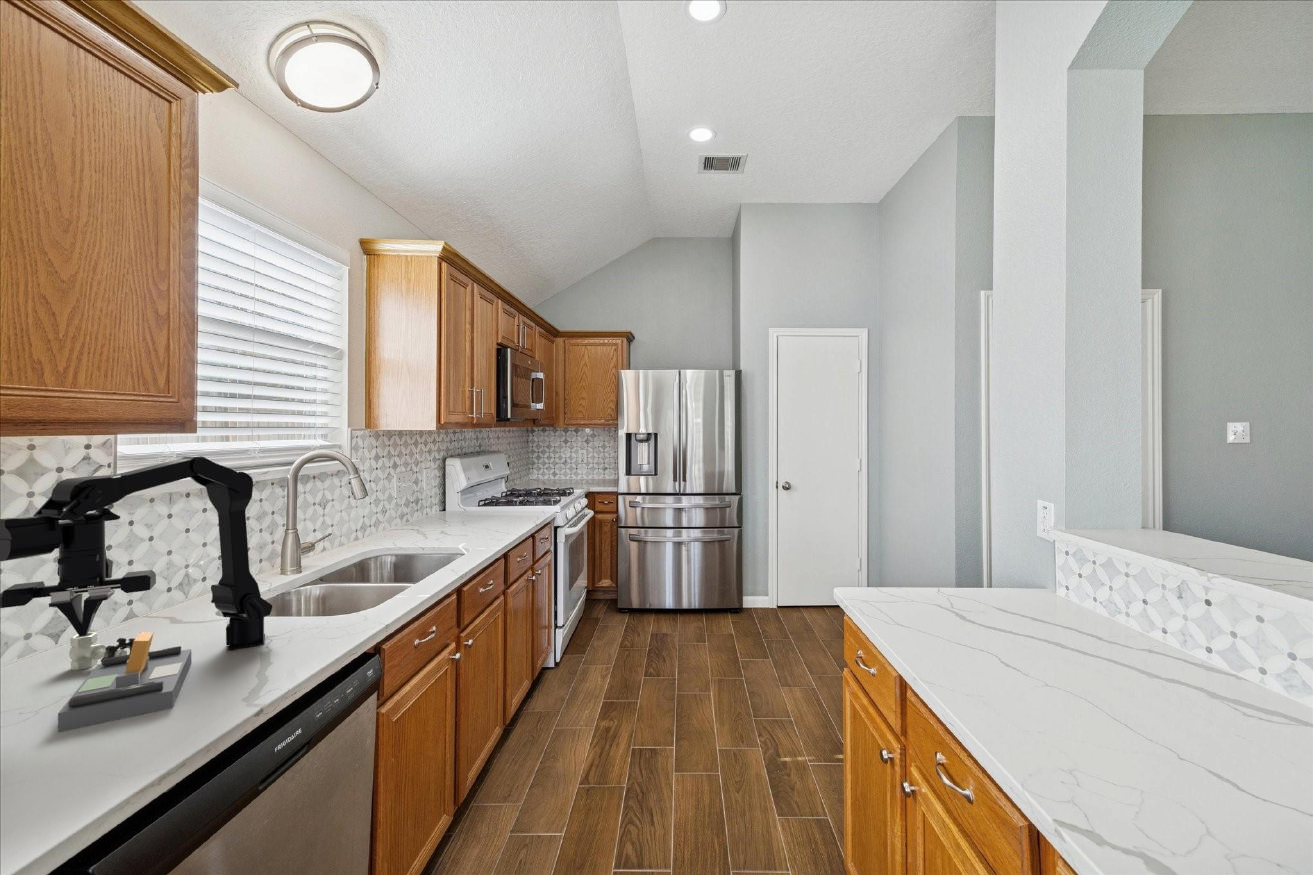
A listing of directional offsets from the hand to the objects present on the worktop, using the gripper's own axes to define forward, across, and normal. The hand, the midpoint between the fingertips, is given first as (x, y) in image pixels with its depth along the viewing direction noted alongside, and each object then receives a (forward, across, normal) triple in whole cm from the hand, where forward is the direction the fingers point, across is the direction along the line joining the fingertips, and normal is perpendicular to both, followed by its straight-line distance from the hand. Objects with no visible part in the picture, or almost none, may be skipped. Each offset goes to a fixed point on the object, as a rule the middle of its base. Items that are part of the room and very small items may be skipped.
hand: (83, 635), depth 98 cm
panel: (+12, -6, 0) cm, 14 cm away
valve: (+12, +2, -18) cm, 22 cm away
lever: (+9, -6, 0) cm, 11 cm away
